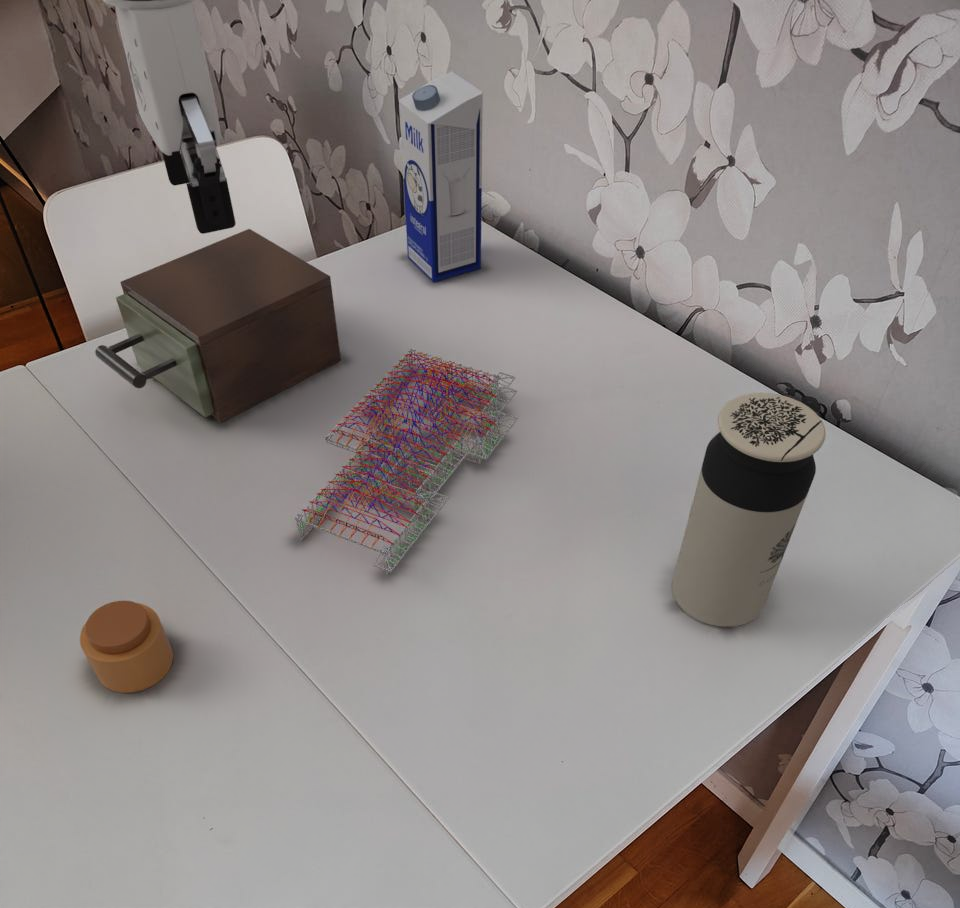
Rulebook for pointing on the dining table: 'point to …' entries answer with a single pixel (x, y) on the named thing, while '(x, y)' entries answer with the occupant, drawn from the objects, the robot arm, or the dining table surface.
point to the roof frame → (393, 456)
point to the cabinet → (245, 316)
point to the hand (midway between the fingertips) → (202, 204)
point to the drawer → (159, 356)
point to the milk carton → (443, 176)
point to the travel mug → (746, 507)
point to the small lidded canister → (126, 646)
